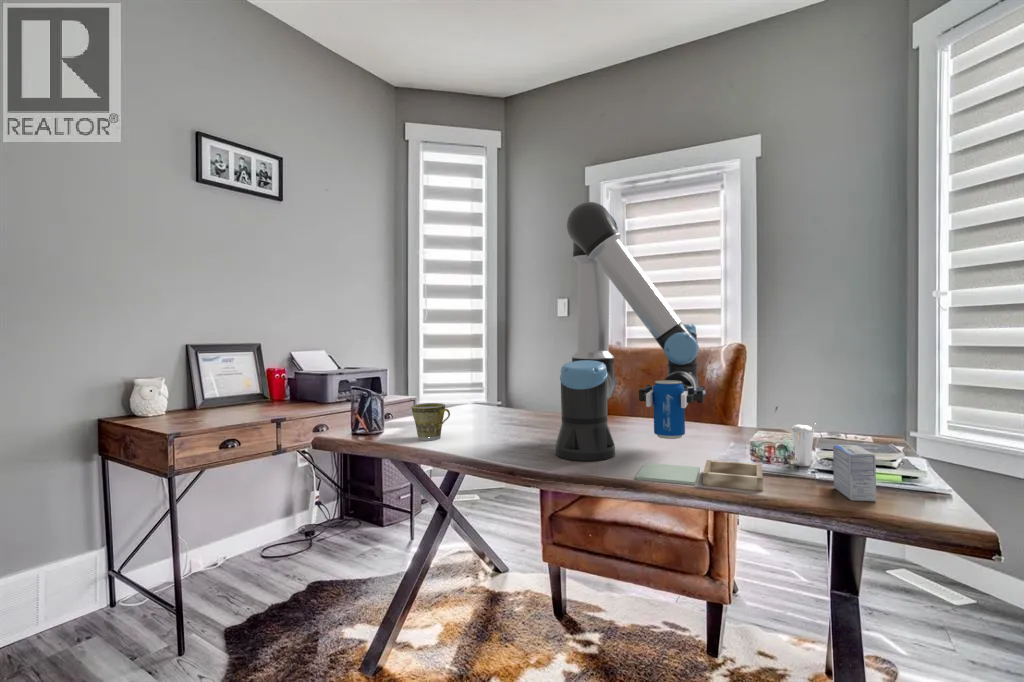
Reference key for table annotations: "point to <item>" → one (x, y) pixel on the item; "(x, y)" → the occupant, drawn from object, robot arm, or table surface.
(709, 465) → the crate
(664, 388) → the beverage can
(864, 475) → the medicine box
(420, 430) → the ceramic cup
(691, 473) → the mat
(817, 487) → the table surface
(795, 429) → the milkshake
